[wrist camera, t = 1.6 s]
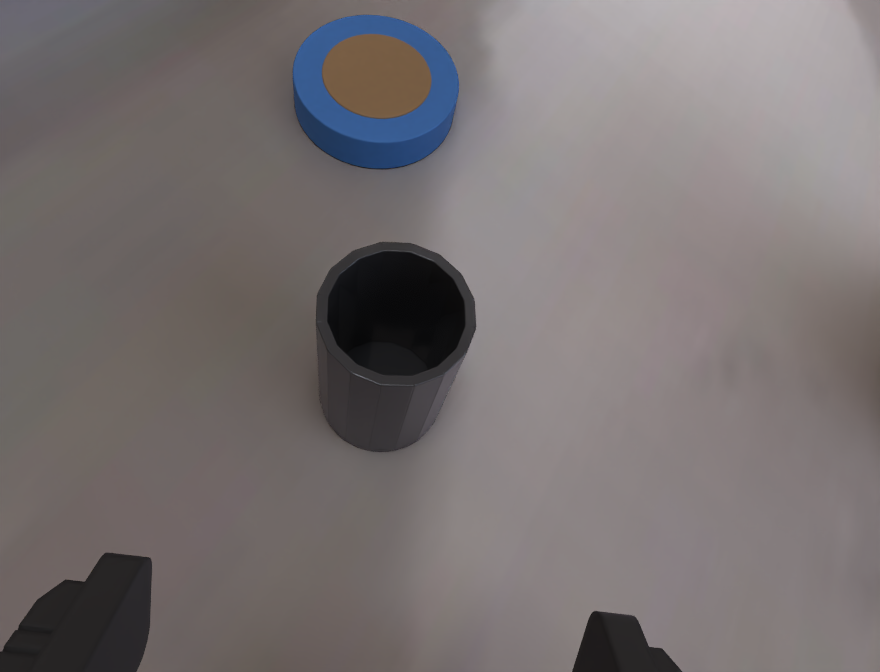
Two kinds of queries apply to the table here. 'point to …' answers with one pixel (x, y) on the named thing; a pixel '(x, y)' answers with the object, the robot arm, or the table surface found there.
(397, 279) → the bin
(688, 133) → the table surface
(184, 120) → the table surface
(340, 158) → the tape
